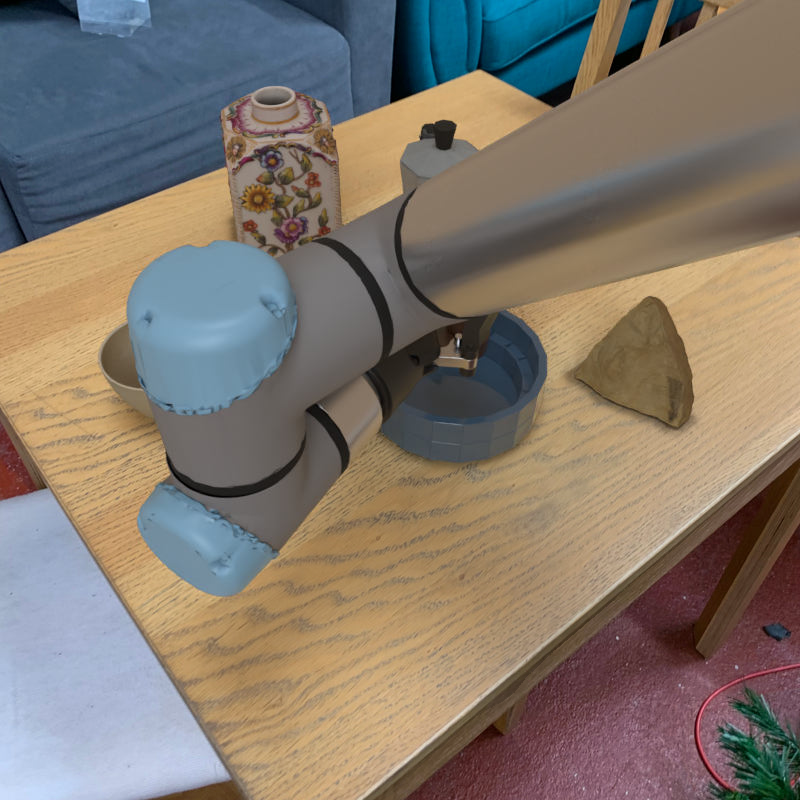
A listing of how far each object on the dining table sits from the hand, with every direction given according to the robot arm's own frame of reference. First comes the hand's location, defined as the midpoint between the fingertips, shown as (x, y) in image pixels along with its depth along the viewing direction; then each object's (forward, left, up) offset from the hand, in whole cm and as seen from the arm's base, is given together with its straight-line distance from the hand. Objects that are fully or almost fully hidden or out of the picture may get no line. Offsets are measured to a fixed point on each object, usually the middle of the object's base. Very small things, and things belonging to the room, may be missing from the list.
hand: (497, 218), depth 64 cm
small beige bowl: (+9, +29, -18) cm, 35 cm away
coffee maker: (+16, -4, -18) cm, 24 cm away
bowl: (-3, +5, -18) cm, 18 cm away
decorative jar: (+28, +9, -18) cm, 34 cm away
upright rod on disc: (-3, +5, -10) cm, 11 cm away
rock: (-11, -11, -18) cm, 24 cm away
